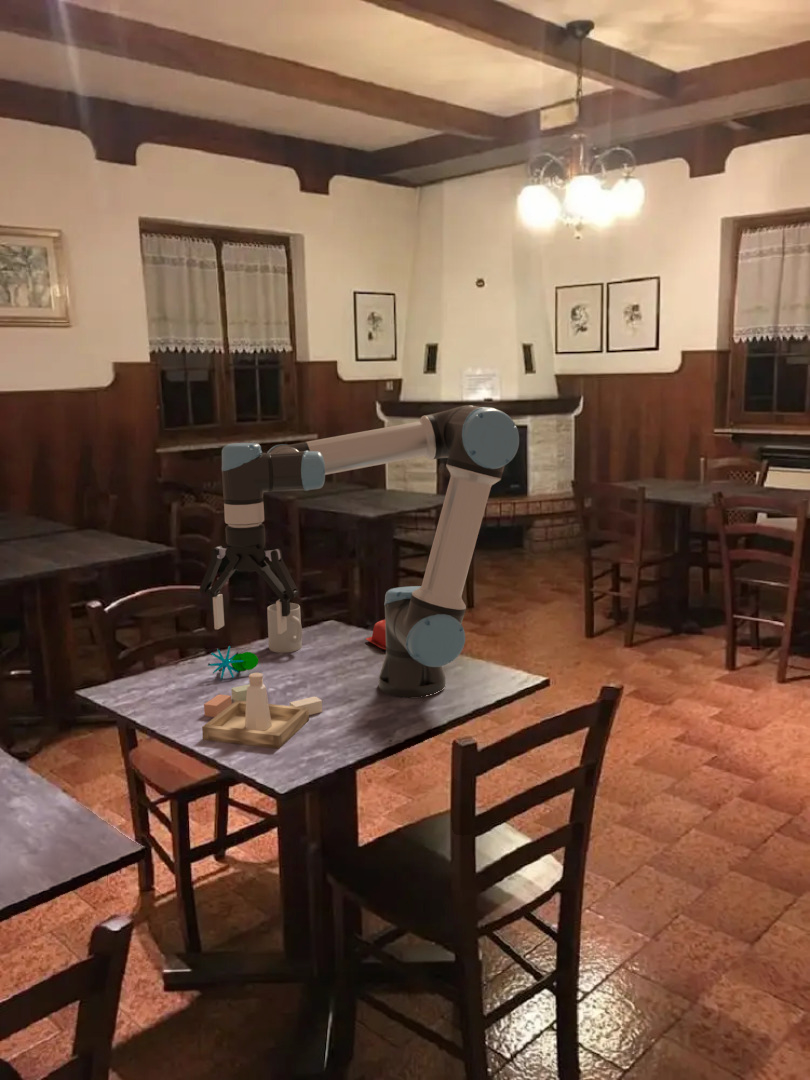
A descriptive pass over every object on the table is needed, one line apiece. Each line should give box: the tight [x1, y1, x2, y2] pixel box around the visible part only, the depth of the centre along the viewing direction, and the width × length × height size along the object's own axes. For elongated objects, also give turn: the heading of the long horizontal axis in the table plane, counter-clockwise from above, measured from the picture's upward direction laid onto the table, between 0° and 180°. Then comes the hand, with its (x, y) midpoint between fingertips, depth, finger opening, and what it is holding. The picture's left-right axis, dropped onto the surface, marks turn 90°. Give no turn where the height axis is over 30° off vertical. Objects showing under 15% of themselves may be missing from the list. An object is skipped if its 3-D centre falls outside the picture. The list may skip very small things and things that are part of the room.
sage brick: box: [230, 683, 250, 702], centre depth 199 cm, size 6×3×3 cm, turn 122°
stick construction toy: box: [207, 645, 259, 681], centre depth 215 cm, size 12×7×8 cm
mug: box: [266, 602, 303, 654], centre depth 232 cm, size 12×8×11 cm
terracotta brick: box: [203, 694, 233, 718], centre depth 192 cm, size 6×3×3 cm, turn 160°
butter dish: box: [365, 619, 386, 651], centre depth 235 cm, size 12×12×8 cm
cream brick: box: [289, 696, 323, 716], centre depth 190 cm, size 6×3×3 cm, turn 123°
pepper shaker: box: [245, 672, 272, 731], centre depth 181 cm, size 5×5×11 cm
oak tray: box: [201, 701, 310, 750], centre depth 182 cm, size 16×14×3 cm
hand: (250, 629), depth 179 cm, fingers open, 13 cm apart
